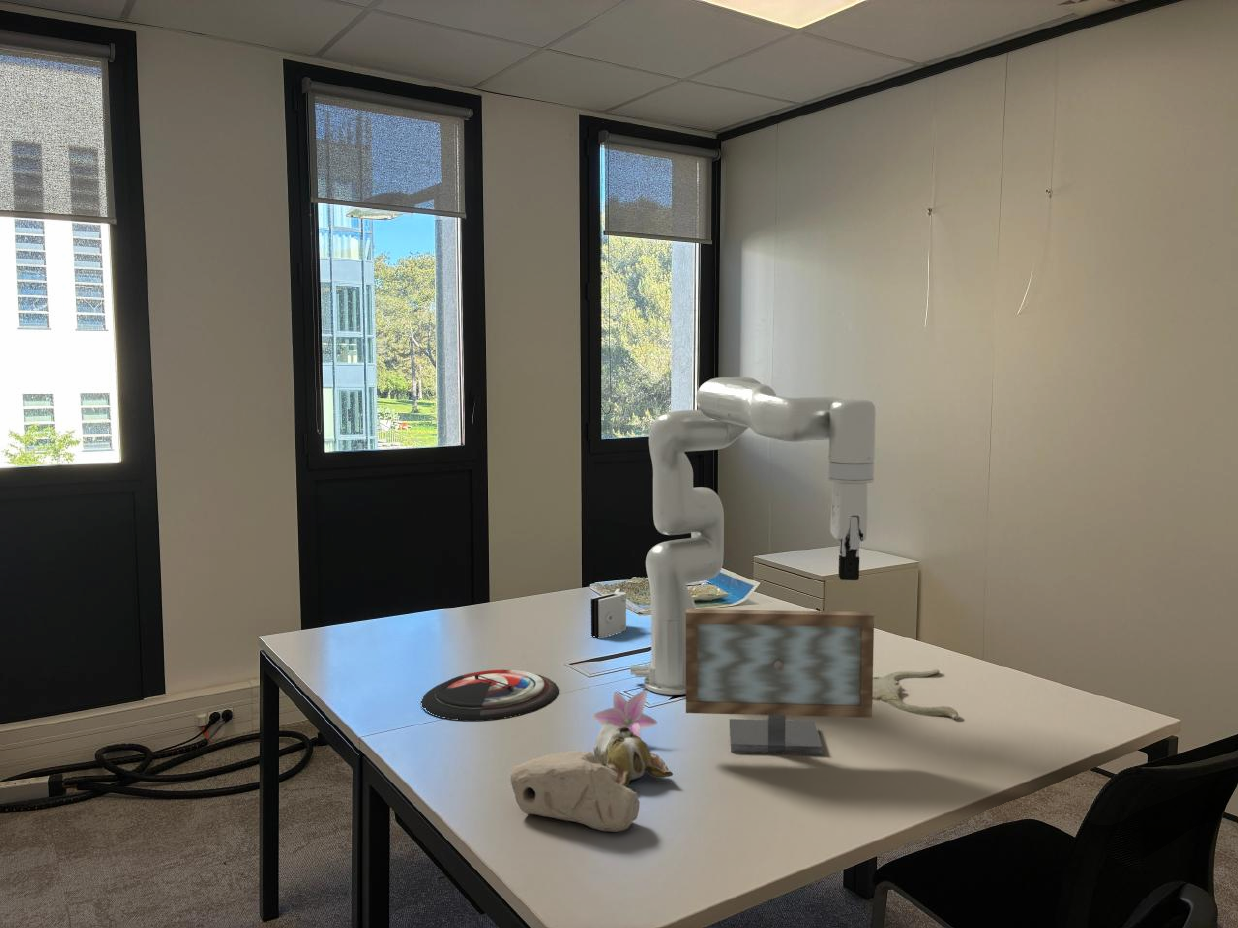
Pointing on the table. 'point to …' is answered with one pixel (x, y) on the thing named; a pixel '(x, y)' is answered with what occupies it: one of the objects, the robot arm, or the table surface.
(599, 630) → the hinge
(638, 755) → the ceramic sculpture
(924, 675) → the decorative wall piece
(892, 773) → the table surface
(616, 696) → the lily
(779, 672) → the picture frame
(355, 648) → the table surface
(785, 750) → the frame stand
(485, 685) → the wall clock
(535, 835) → the table surface
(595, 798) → the decorative stone
